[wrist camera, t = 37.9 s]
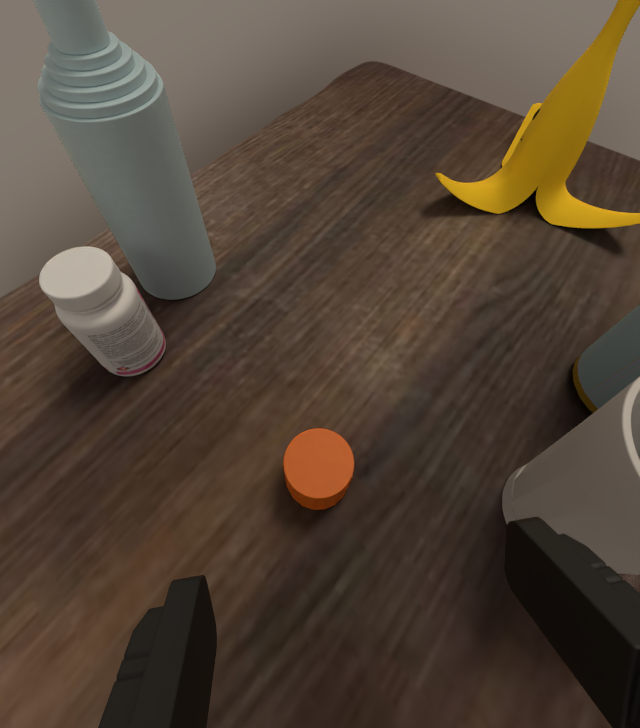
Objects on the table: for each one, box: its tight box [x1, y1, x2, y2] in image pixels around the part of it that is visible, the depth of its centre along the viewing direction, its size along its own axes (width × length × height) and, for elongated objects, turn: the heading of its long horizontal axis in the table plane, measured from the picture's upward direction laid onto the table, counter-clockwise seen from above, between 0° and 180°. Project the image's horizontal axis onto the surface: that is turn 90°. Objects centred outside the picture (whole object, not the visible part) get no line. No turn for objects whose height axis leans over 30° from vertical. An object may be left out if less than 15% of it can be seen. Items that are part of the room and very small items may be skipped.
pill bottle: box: [39, 247, 166, 376], centre depth 25 cm, size 5×5×8 cm
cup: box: [502, 376, 640, 575], centre depth 19 cm, size 8×8×12 cm
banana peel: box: [435, 0, 640, 228], centre depth 31 cm, size 17×19×17 cm
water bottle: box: [33, 0, 216, 300], centre depth 25 cm, size 6×6×20 cm
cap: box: [283, 428, 354, 510], centre depth 23 cm, size 4×4×4 cm
